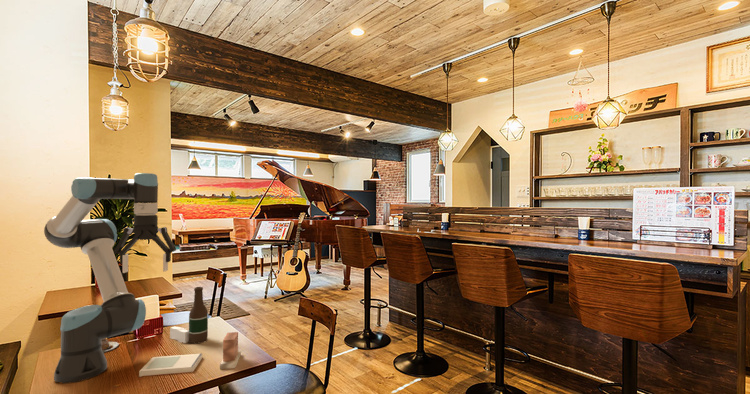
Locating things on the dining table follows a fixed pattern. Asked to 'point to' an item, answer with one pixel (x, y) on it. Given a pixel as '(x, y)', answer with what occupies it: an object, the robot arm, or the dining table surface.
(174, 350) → the dining table surface
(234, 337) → the stub
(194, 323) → the beer bottle
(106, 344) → the pastry
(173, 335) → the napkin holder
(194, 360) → the white flat block
